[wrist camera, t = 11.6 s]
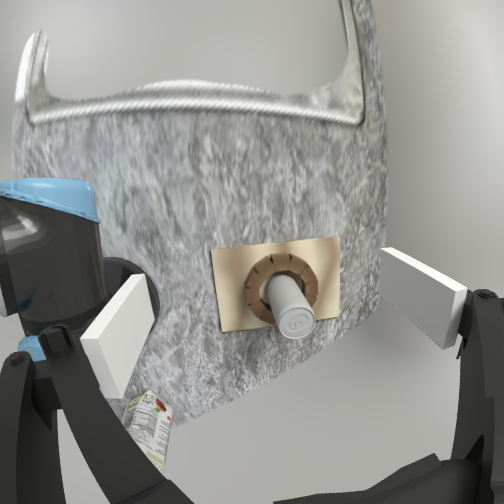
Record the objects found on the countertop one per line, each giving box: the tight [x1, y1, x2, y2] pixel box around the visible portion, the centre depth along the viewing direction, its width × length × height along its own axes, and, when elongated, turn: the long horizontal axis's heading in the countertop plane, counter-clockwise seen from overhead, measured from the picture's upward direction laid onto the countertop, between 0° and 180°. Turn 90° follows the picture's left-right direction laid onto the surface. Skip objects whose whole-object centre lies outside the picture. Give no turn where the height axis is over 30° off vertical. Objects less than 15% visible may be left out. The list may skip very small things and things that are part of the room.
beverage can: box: [266, 274, 315, 339], centre depth 40 cm, size 5×5×12 cm
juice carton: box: [121, 390, 173, 475], centre depth 42 cm, size 8×9×19 cm
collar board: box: [211, 237, 340, 332], centre depth 45 cm, size 20×14×3 cm
